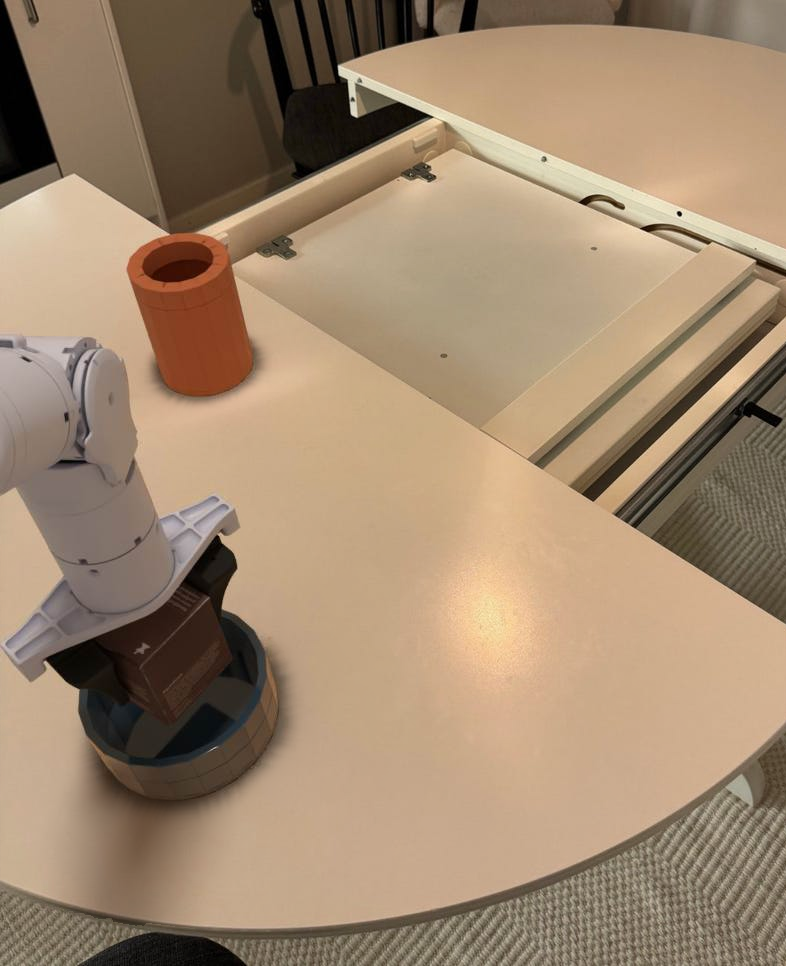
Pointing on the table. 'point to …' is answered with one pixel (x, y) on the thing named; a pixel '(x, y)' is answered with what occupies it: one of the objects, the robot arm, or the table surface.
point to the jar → (192, 312)
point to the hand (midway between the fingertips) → (163, 657)
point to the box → (168, 654)
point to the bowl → (191, 727)
